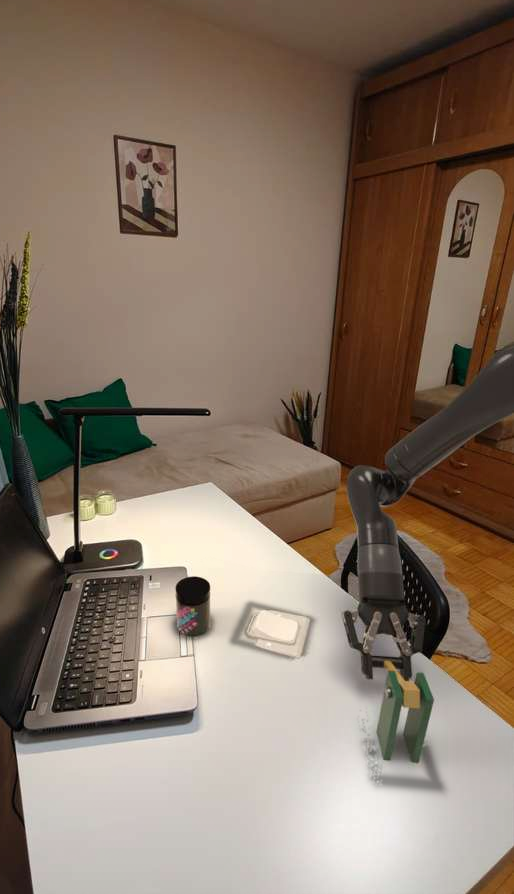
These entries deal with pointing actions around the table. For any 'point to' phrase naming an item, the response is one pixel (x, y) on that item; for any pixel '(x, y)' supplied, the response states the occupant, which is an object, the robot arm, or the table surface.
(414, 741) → the bracket
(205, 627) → the supplement container
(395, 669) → the lever
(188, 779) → the table surface
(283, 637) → the light switch
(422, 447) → the robot arm
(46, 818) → the table surface
